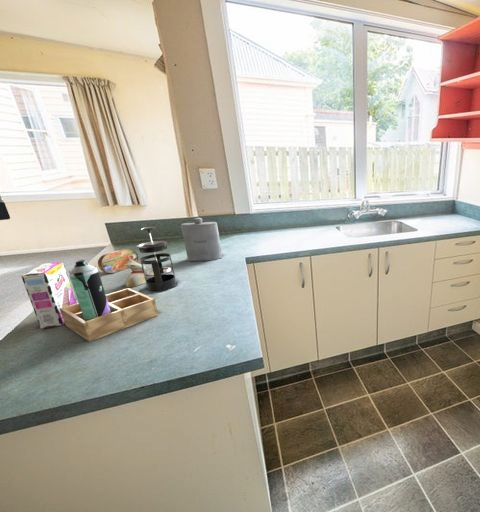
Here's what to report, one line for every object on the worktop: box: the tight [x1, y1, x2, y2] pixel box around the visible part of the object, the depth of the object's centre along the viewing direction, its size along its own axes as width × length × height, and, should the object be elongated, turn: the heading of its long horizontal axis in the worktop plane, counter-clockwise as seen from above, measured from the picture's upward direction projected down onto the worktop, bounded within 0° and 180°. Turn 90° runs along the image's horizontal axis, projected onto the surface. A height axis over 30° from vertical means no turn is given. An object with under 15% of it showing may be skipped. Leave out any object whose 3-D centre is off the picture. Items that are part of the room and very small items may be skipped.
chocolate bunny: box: [125, 260, 147, 289], centre depth 113 cm, size 6×8×10 cm
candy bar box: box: [20, 261, 77, 330], centre depth 87 cm, size 11×5×16 cm, turn 27°
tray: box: [60, 287, 159, 343], centre depth 88 cm, size 16×16×6 cm
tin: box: [97, 248, 139, 274], centre depth 128 cm, size 15×3×8 cm, turn 168°
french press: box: [136, 226, 178, 293], centre depth 108 cm, size 12×9×23 cm
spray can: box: [68, 259, 111, 321], centre depth 80 cm, size 6×6×20 cm
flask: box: [180, 217, 223, 262], centre depth 141 cm, size 15×6×20 cm, turn 107°
